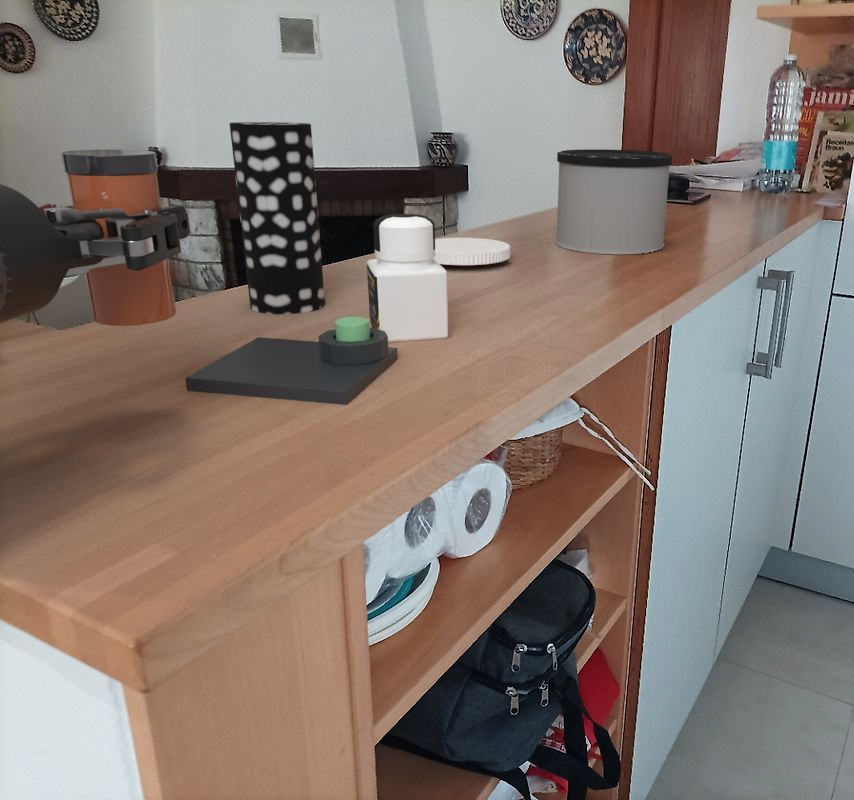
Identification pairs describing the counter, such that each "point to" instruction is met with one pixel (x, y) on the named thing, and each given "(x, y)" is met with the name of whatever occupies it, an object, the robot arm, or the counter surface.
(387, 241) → the medicine bottle
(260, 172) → the spotted tube
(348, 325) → the button
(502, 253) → the plastic lid
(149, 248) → the robot arm
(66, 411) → the counter surface
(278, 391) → the scale
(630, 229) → the container
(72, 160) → the spice jar
